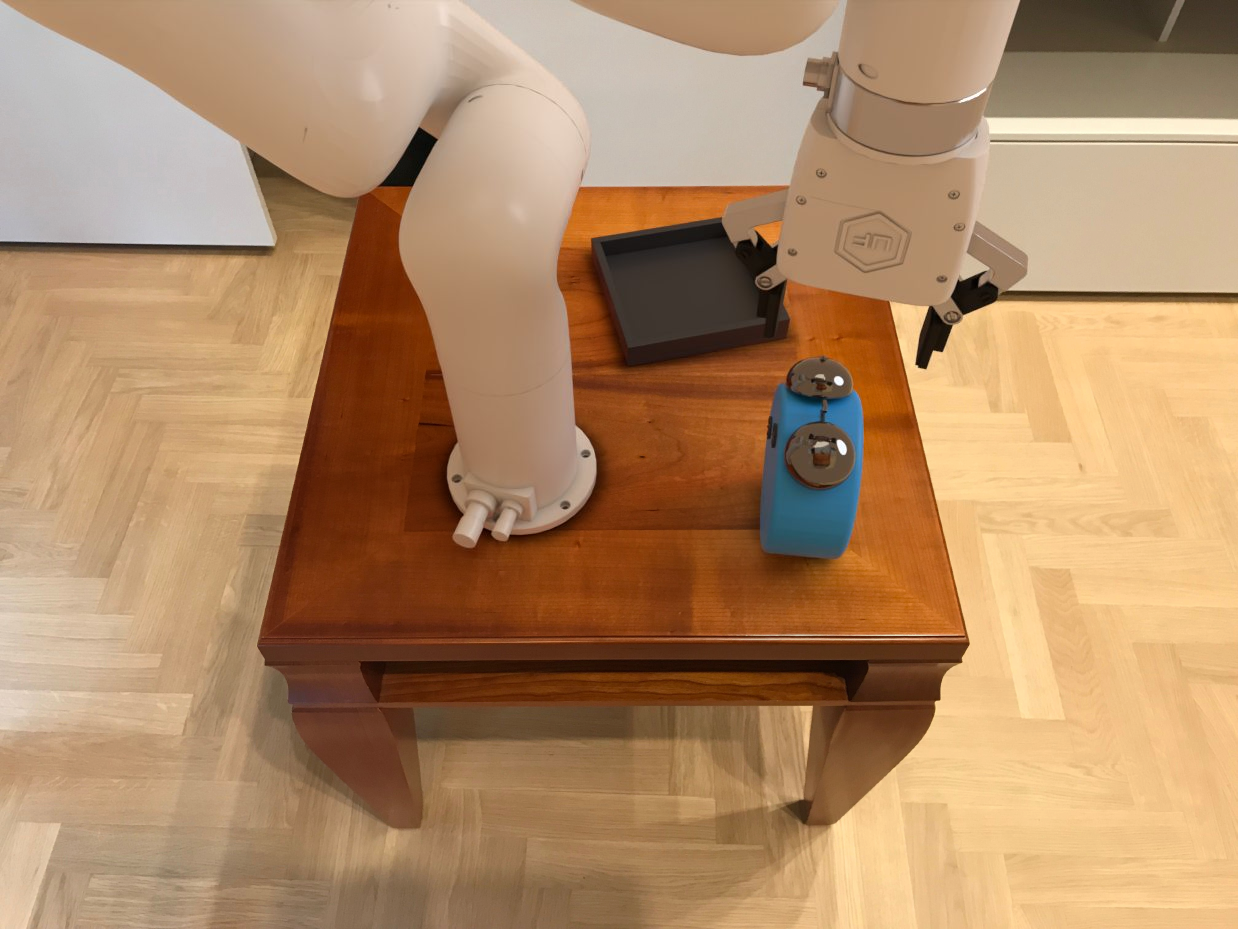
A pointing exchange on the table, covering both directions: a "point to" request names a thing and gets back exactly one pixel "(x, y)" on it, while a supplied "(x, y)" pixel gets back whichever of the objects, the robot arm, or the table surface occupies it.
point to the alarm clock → (812, 462)
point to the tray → (679, 292)
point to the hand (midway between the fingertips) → (846, 338)
